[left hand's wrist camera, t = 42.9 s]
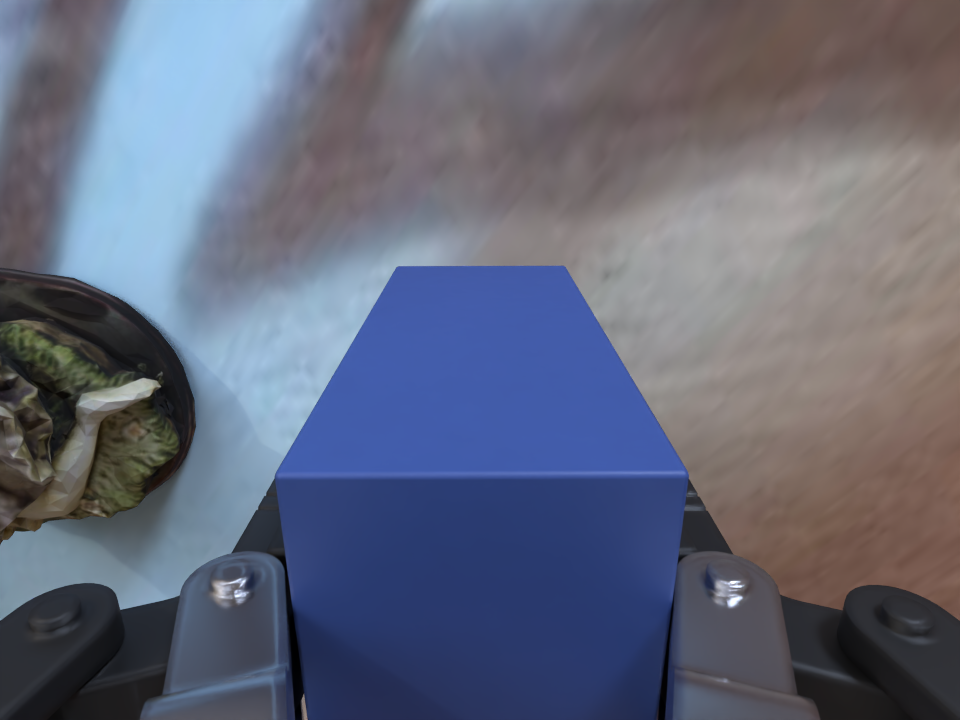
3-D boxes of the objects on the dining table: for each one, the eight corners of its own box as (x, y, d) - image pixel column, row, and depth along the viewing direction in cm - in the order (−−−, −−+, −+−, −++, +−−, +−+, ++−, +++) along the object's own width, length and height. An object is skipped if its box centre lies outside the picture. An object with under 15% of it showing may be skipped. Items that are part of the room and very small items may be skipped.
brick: (565, 265, 17) (692, 473, 7) (557, 451, 19) (645, 825, 9) (396, 265, 17) (272, 474, 7) (405, 451, 19) (320, 825, 9)
